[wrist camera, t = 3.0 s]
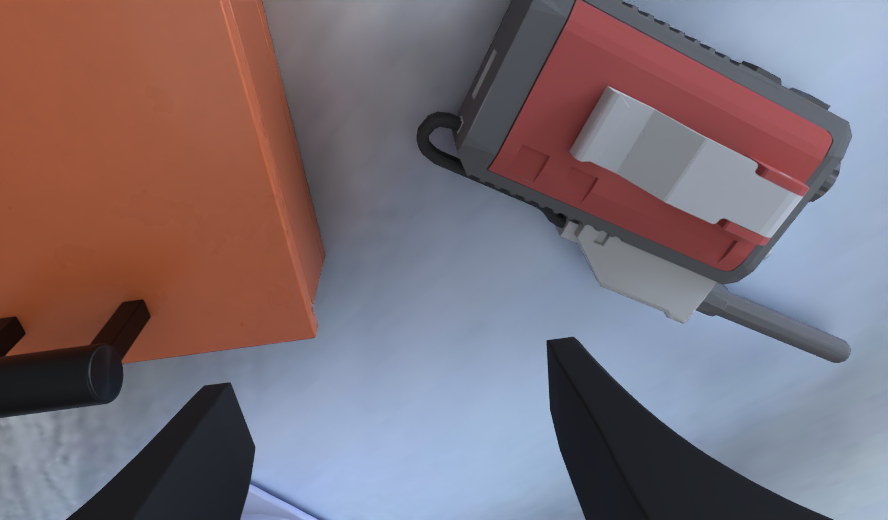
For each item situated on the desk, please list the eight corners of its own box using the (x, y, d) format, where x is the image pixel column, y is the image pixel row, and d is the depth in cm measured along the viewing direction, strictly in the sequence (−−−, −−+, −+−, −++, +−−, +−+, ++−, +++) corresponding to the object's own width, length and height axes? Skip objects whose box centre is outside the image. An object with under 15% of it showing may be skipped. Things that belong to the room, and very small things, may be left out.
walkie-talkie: (388, 182, 22) (808, 353, 27) (384, 237, 18) (876, 425, 23) (500, -69, 18) (963, 182, 23) (525, -69, 14) (1075, 233, 19)
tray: (326, 256, 23) (313, 305, 20) (-43, 306, 23) (-112, 363, 20) (241, -85, 18) (205, -89, 14) (-241, -16, 18) (-377, -5, 15)
